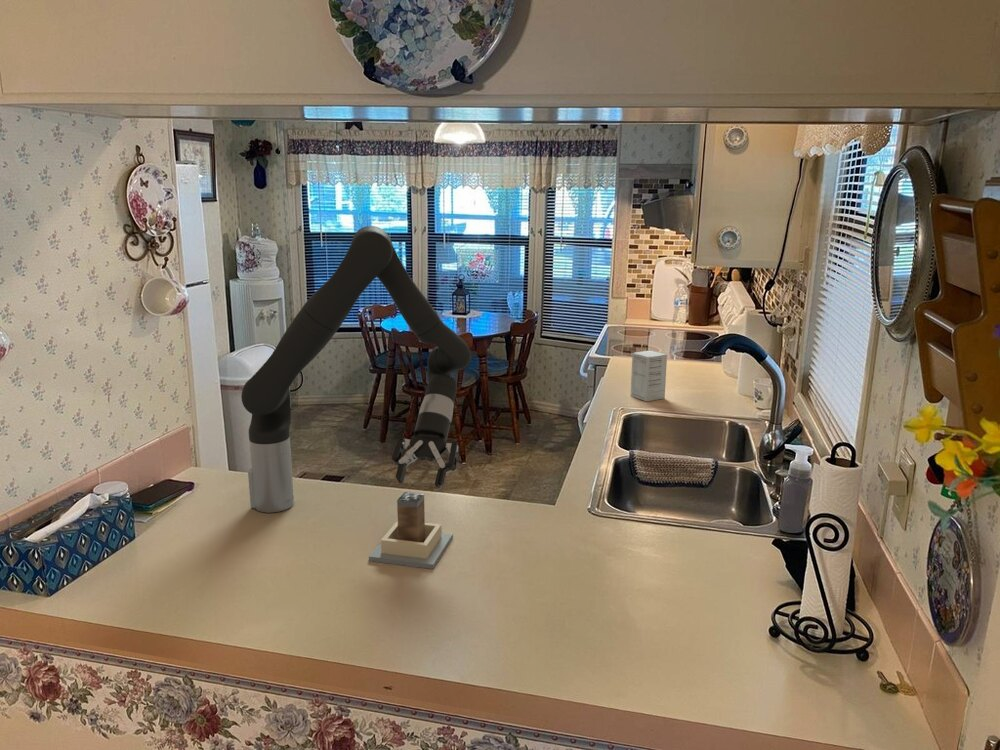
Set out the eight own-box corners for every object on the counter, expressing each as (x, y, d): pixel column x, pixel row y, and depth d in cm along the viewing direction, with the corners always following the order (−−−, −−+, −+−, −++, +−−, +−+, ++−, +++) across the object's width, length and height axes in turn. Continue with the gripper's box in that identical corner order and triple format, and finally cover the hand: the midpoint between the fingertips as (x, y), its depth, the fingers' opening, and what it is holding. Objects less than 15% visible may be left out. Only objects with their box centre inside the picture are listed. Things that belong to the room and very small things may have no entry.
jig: (368, 560, 152) (368, 543, 151) (393, 531, 165) (392, 514, 164) (433, 569, 149) (432, 551, 148) (452, 538, 162) (452, 521, 161)
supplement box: (665, 398, 272) (668, 354, 268) (646, 402, 267) (649, 357, 263) (648, 392, 280) (650, 349, 276) (629, 395, 275) (631, 352, 271)
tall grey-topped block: (398, 548, 155) (397, 500, 152) (405, 538, 159) (404, 492, 156) (418, 550, 154) (417, 502, 151) (424, 541, 158) (424, 494, 155)
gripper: (400, 407, 165) (382, 474, 157) (461, 413, 162) (446, 480, 154) (409, 423, 171) (392, 487, 163) (468, 428, 168) (453, 494, 160)
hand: (418, 484), depth 158 cm, fingers open, 8 cm apart
